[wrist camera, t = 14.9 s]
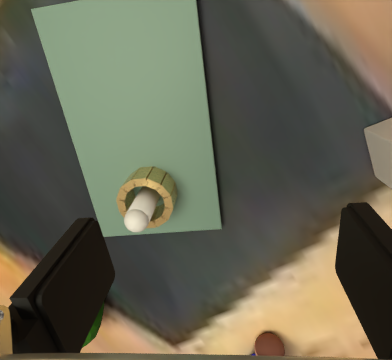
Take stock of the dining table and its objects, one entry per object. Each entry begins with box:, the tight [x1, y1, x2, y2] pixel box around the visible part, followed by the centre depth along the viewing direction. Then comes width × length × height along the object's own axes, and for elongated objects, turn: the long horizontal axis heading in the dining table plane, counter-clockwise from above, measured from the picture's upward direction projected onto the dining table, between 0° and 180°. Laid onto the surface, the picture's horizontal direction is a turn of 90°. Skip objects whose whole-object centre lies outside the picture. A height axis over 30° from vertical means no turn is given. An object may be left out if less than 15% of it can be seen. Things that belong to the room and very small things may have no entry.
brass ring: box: [116, 166, 178, 228], centre depth 36 cm, size 7×7×4 cm
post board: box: [31, 0, 222, 237], centre depth 32 cm, size 30×18×10 cm, turn 8°
